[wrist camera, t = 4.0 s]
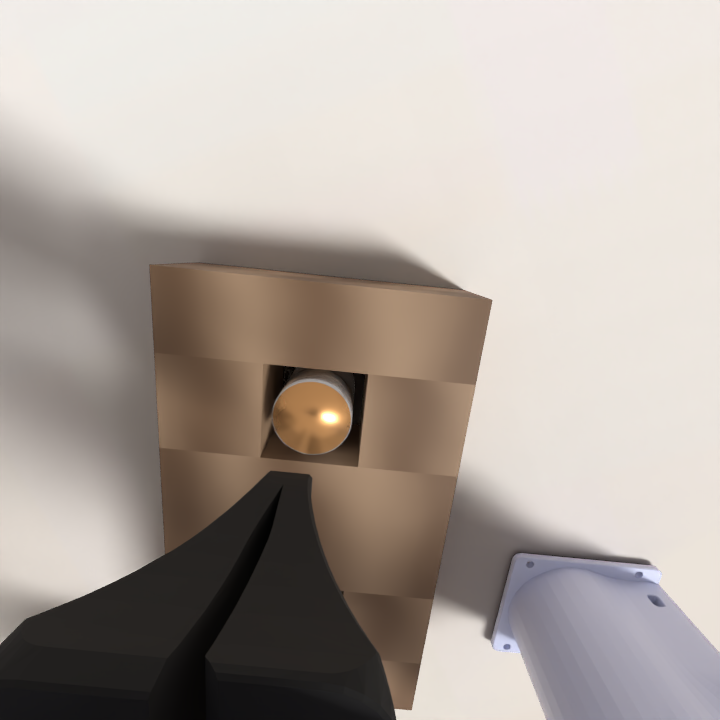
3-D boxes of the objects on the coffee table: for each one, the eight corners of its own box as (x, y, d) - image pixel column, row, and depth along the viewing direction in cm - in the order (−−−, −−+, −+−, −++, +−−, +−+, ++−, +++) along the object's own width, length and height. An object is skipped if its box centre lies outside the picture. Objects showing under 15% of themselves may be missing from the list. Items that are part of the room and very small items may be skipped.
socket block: (464, 290, 19) (492, 300, 15) (403, 634, 26) (411, 709, 22) (198, 262, 19) (149, 264, 15) (204, 615, 26) (172, 688, 21)
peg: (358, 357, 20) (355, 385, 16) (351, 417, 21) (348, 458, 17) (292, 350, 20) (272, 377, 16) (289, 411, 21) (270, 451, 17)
